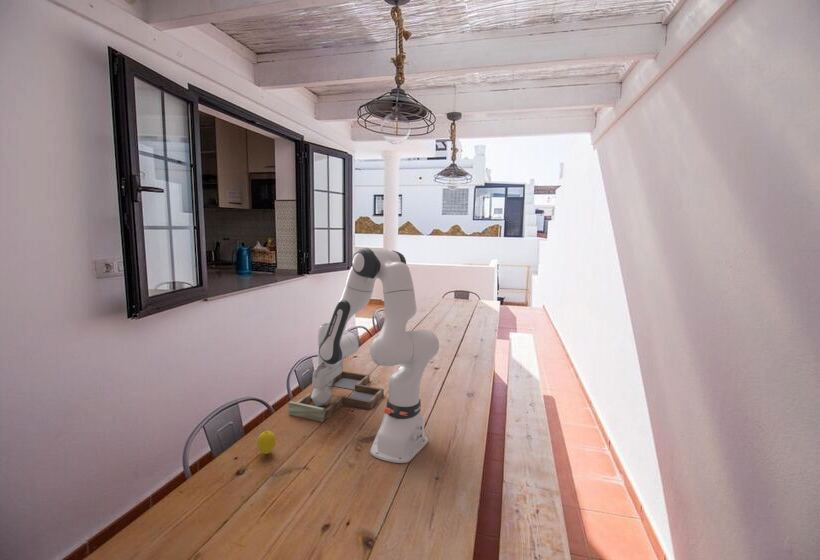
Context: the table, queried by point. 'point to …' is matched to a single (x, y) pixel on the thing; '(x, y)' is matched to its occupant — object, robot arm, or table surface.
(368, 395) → the side trap mat
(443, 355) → the table surface
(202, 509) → the table surface
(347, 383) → the end trap mat
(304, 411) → the box
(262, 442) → the lemon
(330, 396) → the die
